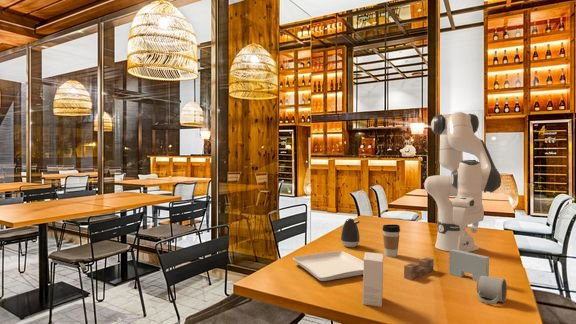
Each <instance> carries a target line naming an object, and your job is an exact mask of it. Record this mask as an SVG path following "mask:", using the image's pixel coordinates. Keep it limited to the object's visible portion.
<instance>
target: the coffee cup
mask: <svg viewBox="0 0 576 324" xmlns="http://www.w3.org/2000/svg"><path fill="white" fill-rule="evenodd" d="M400 226H401V225H399V224H383V226H382V231H383V232H382V233H383V237H382V238H383V249H384V255H385V256H386V257H391V258H394V257H398V253H399V251H398V250H399V245H400V244H399V243H400V242H399V241H400V232H401V228H400Z"/></svg>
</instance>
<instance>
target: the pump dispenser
mask: <svg viewBox="0 0 576 324" xmlns="http://www.w3.org/2000/svg"><path fill="white" fill-rule="evenodd" d="M358 224H360V221H359V220H357V221H355V220H354V218H348V219H346V220H345V222H344V223H343V226H342V229H341V232H340V240H341V243H342V245H343V246H344V247H346V248H355V247H357V246H358V245H359V243H360V241H361V236H360V230H359V227H358Z"/></svg>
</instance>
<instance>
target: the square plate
mask: <svg viewBox="0 0 576 324" xmlns="http://www.w3.org/2000/svg"><path fill="white" fill-rule="evenodd" d="M292 260H293V261H294V262H295V263H296V264H297V265H298V266H300V267H301V268H303V269H304V270H306V271H307V272H308V273H309V274H311V275H312V276H313V277H314V278H316V279H317V280H319V281H321V282H326V281H332V280H333V281H334V280H339V279H345V278H351V277H357V276H362V275H363V269H364V260H362V259H360V258H358V257H356V256H354V255H353V254H350V253H347V252H345V251H343V250H338V251H337V250H336V251H326V252H318V253H312V254H311V253H310V254H305V255H304V254H303V255H298V256H294V257H292Z"/></svg>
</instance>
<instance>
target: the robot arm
mask: <svg viewBox="0 0 576 324" xmlns="http://www.w3.org/2000/svg"><path fill="white" fill-rule="evenodd" d="M479 126H480V121H479V117H478V116H477V114H475V113H465V112H463V111H457V112H454V113H447V114H437V115H434V116H433V117H432V120H431V123H430V127H431V131H432V132H433V134H435V135H439V136H441V137H440V143H439V165H441V167H442V168H444V169H446V170H449V171H450V172H451V173H450V175H442V174H437V175H430V176H427V177H426V178H425V181H424V184H423V186H424V190H425V192H426V193H428V195H430V196H431V197H432V198H433V200H434V201H435V202H436V205H437V210H438V211H437V213H438V221H437V234H436V241H435V245H434V248H436V249H437V250H440V251H441V250H442V251H444V252H450V250H452V249H455V250H460V251H464V252H469V253H471V252H475V251H478V250H480V247H479V246H478V245H476V244H475V239H474V237H473V236H472V235H471V234H470V233H473V234H476V233H478V227H479V224H480V223H479V222H482V221H484V217H485V216H484V214H485V213H484V211H485V210H484V205H483V192H486V193H487V192H488V193H494V192H495V191H496V190H498V189H499V188H500V187H501V185H502V178H501V174H500V172H499V170H498V169H497V168H496V165H495V164H494V161H493V159H492V157H491V154H490V151H489V150H488V148H487V145H486V144H485V141H484V140H483V139H480V138H479V137H478V136H477V135H476V134H475V133H477V132H478V129H479ZM463 153H467V154H469V155H472V156H475V157H476V158H477V160H473V159H466V160H465V159H464V157H463ZM450 197H455V198H454V199H453V200H452V201H451V200H450ZM469 225H471V228H470V233H469V232H468V231H467V228H468V227H469Z"/></svg>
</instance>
